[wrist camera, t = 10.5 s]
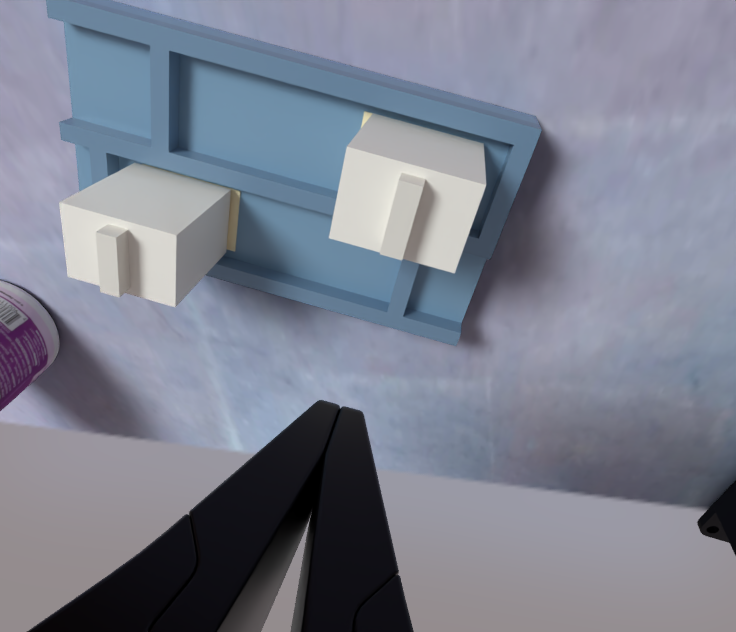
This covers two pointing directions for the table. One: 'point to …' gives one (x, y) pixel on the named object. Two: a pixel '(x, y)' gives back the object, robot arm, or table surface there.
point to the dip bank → (278, 154)
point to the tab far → (145, 233)
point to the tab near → (409, 192)
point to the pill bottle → (23, 341)
